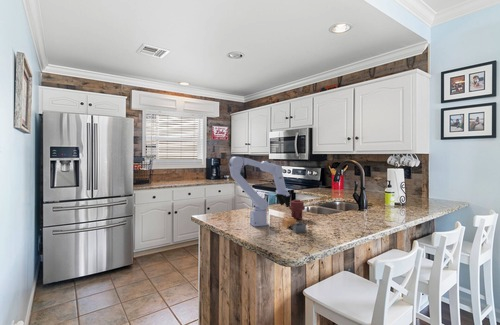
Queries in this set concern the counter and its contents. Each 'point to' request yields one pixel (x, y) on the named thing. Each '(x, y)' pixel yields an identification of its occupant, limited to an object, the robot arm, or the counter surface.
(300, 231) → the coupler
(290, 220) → the notched orange block
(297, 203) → the mechanical component
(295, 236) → the counter surface
